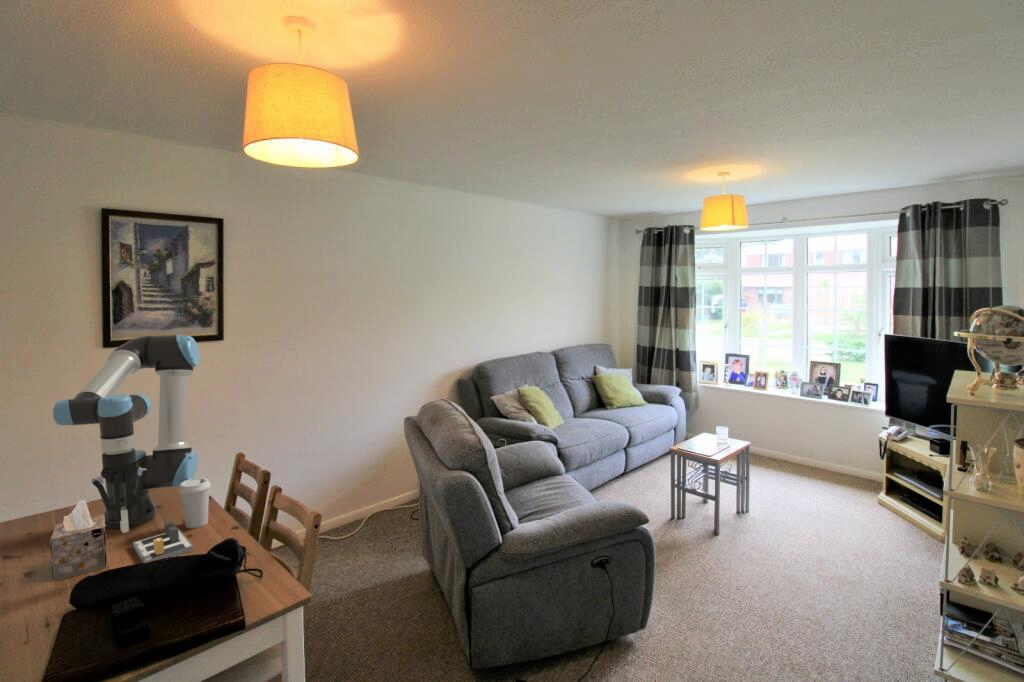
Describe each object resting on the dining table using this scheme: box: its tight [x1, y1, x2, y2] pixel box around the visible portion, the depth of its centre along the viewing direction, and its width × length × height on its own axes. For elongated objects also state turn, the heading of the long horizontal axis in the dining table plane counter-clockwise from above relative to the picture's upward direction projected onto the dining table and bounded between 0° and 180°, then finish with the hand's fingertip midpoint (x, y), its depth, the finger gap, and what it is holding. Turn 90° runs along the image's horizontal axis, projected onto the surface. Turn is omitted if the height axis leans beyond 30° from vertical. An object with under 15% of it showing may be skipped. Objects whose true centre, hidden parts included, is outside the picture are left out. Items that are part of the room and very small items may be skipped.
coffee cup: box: [177, 477, 212, 529], centre depth 174 cm, size 10×10×15 cm
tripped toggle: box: [153, 537, 164, 555], centre depth 153 cm, size 2×2×4 cm
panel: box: [132, 520, 194, 564], centre depth 158 cm, size 16×12×6 cm
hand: (124, 530), depth 146 cm, fingers closed
